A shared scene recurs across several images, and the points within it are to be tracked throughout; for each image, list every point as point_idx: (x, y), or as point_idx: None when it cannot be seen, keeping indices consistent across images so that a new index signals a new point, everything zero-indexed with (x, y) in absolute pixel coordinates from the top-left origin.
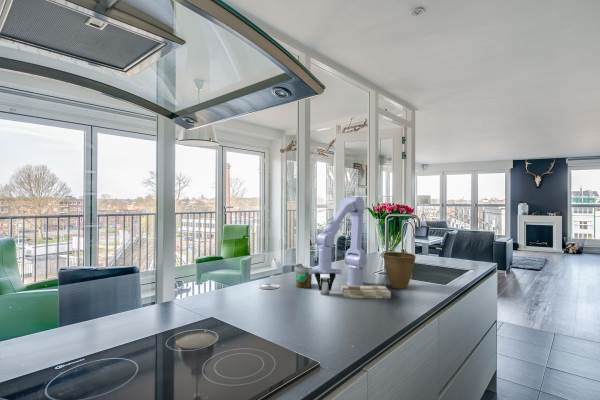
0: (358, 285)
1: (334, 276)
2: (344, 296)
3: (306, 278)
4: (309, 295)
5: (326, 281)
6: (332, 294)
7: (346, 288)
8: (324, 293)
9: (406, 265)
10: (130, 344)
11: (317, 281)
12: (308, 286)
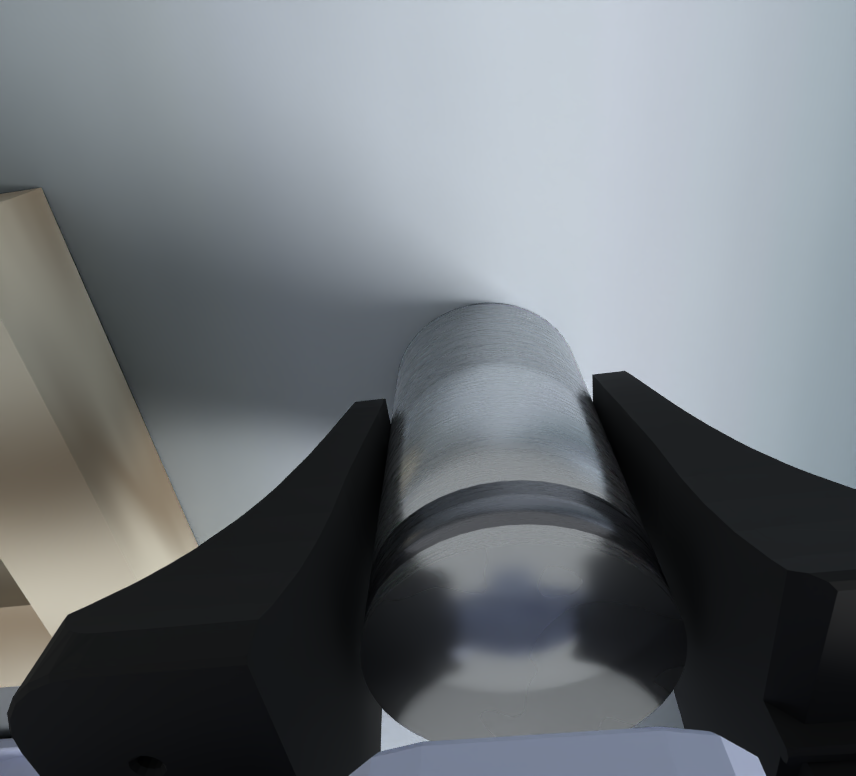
0: (3, 770)
1: (50, 650)
2: (15, 193)
3: None
4: (832, 237)
5: (456, 501)
6: (335, 384)
7: (18, 511)
8: (495, 316)
9: None
10: None
11: (792, 471)
12: None
